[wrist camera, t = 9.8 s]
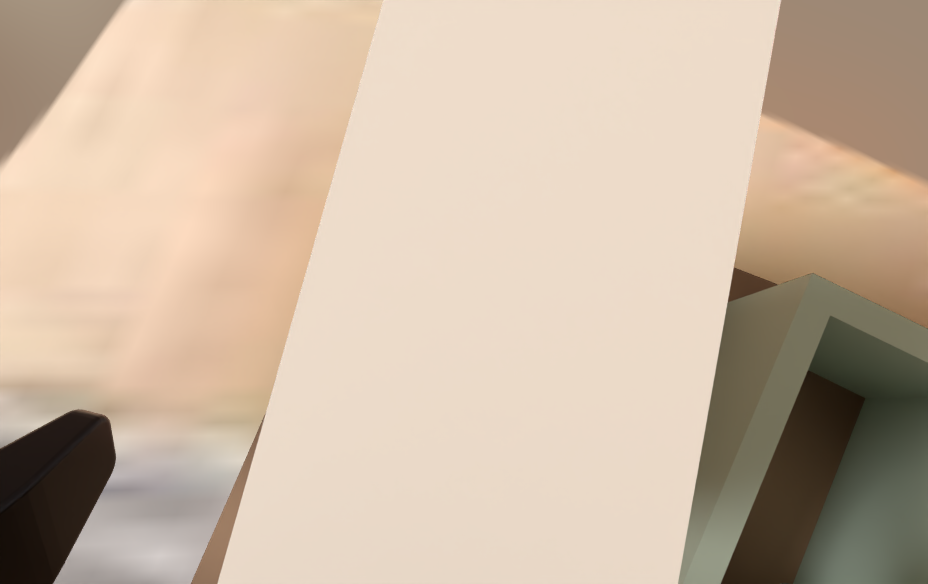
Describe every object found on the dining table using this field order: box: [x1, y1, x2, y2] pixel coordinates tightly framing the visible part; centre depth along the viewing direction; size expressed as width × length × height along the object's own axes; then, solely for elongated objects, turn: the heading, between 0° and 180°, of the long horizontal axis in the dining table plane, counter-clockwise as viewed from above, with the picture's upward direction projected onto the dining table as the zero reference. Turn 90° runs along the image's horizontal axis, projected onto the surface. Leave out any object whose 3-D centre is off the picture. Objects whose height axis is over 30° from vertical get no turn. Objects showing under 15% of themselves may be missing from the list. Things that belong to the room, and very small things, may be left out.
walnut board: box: [191, 268, 865, 584], centre depth 16 cm, size 15×16×1 cm
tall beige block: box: [217, 0, 781, 584], centre depth 10 cm, size 5×3×12 cm, turn 167°
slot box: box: [678, 273, 928, 584], centre depth 14 cm, size 7×5×4 cm, turn 153°
